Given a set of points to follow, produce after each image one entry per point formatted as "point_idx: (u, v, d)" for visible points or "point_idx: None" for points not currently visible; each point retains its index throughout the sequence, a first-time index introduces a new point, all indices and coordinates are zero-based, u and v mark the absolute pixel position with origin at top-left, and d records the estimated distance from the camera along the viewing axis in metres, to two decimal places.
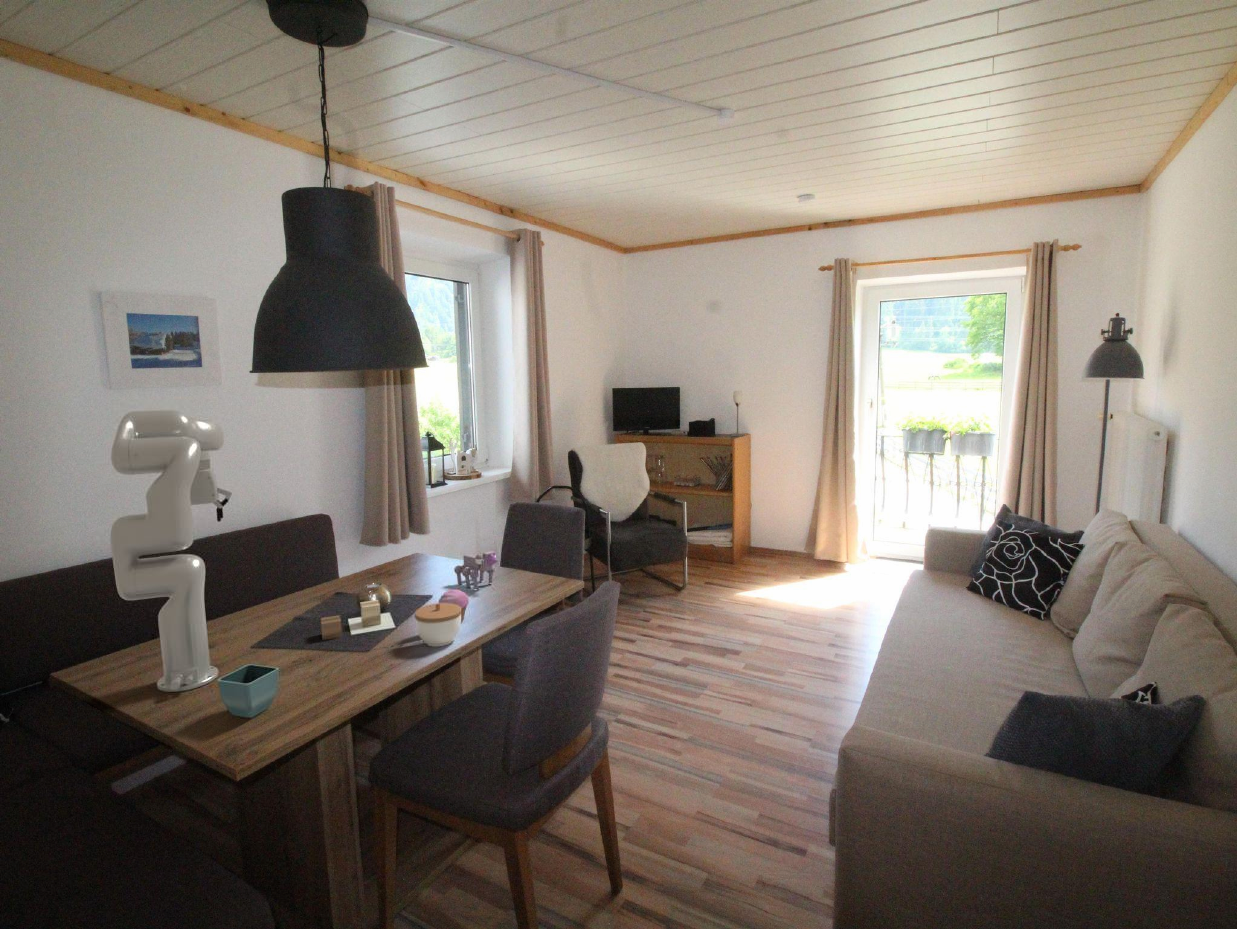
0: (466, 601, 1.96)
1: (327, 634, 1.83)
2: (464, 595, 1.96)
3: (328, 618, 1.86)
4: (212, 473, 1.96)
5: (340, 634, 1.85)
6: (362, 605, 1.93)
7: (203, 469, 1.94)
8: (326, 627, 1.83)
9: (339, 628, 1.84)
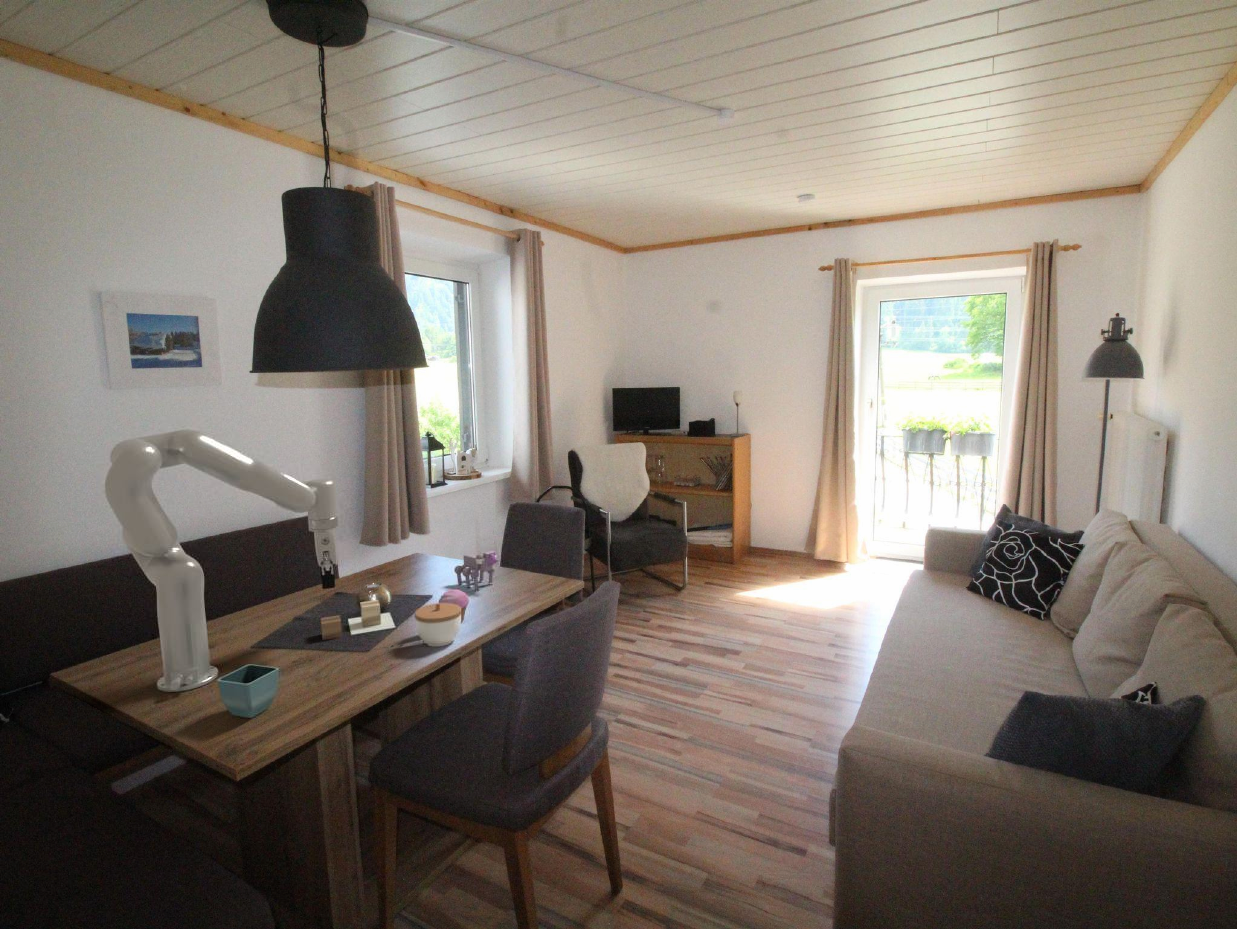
0: (466, 601, 1.96)
1: (327, 634, 1.83)
2: (464, 595, 1.96)
3: (328, 618, 1.86)
4: None
5: (340, 634, 1.85)
6: (362, 605, 1.93)
7: None
8: (325, 627, 1.83)
9: (339, 628, 1.84)
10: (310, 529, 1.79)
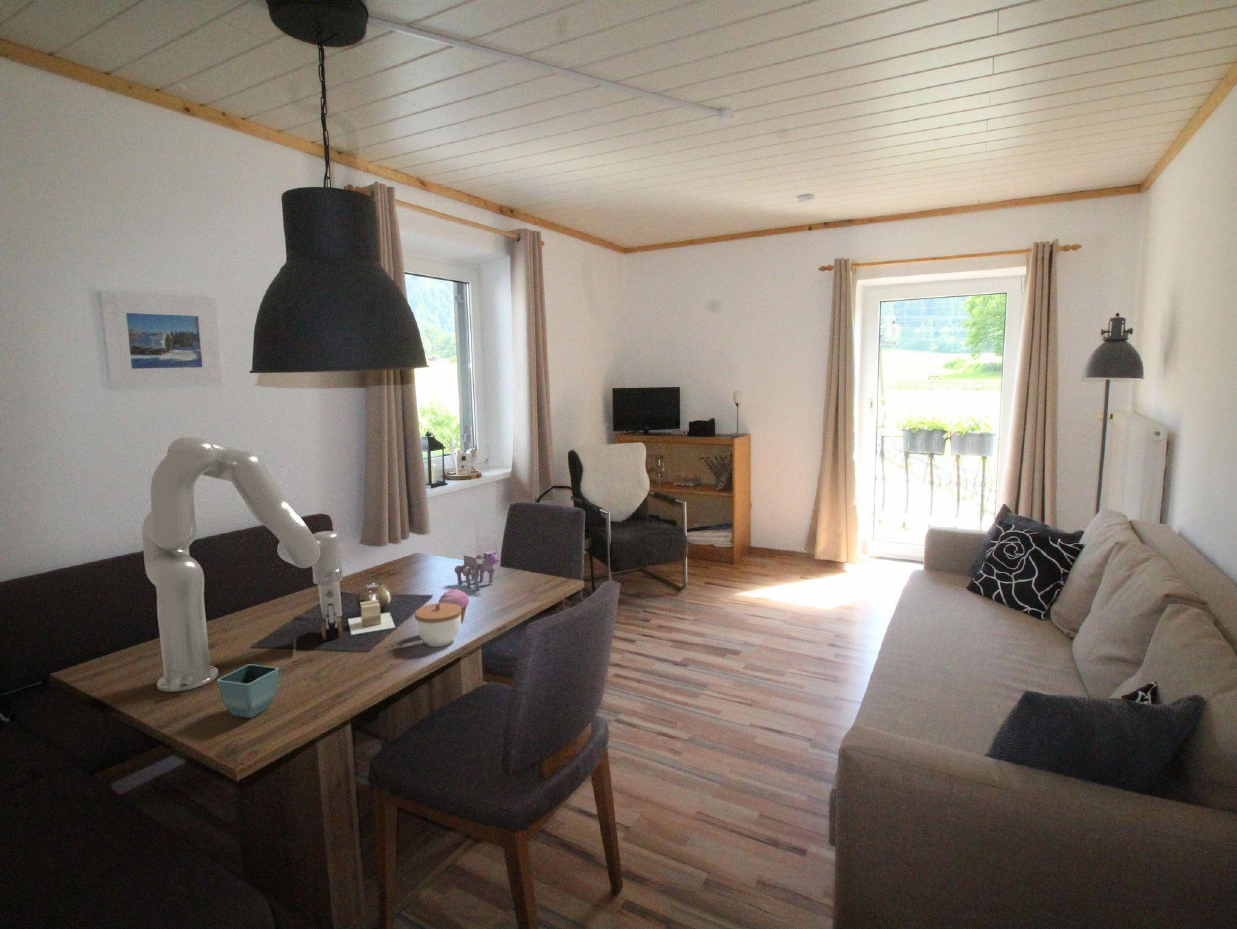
0: (466, 601, 1.96)
1: None
2: (464, 595, 1.96)
3: None
4: None
5: (340, 634, 1.85)
6: (362, 605, 1.93)
7: None
8: (326, 626, 1.83)
9: (339, 628, 1.84)
10: (315, 582, 1.81)
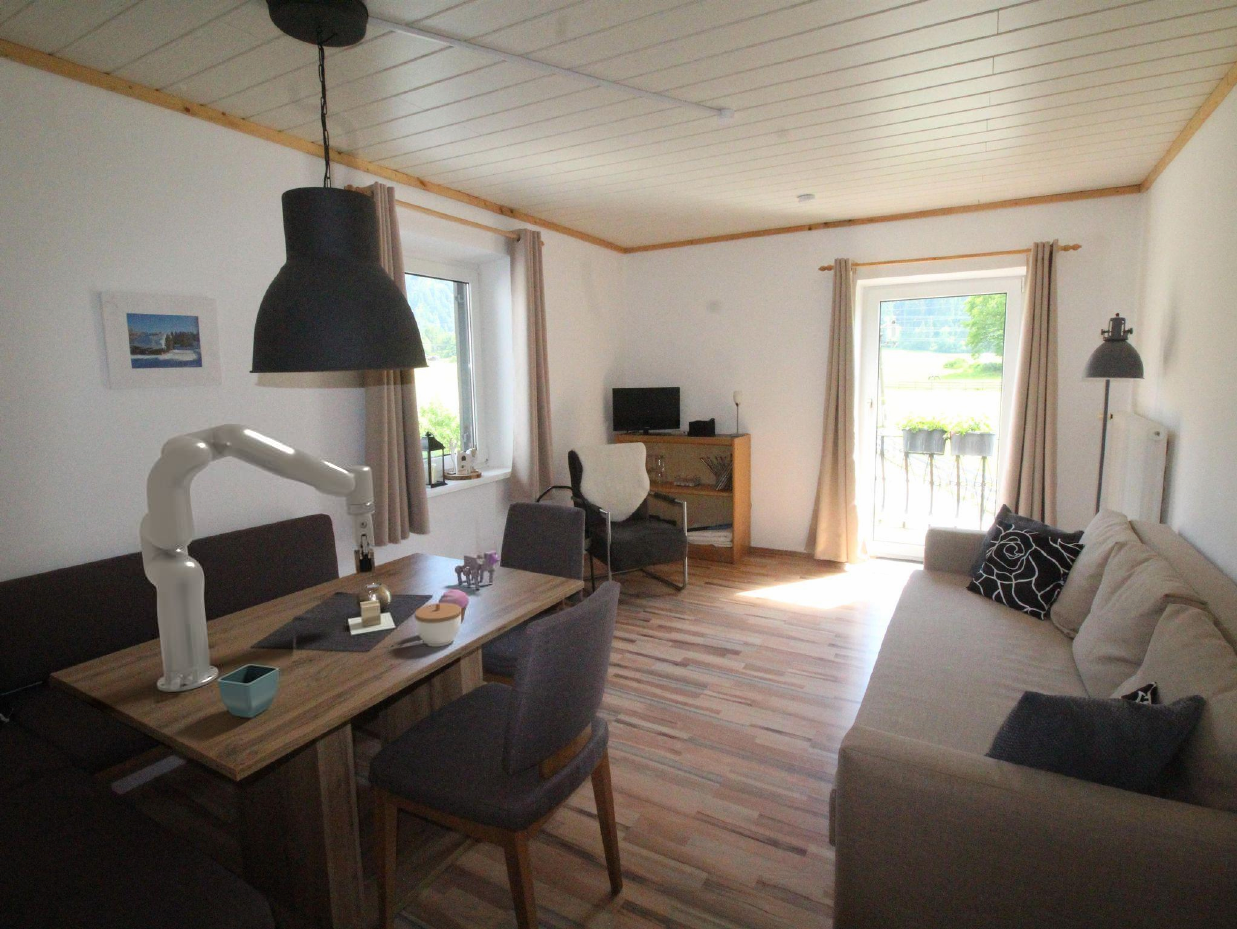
0: (466, 601, 1.96)
1: None
2: (464, 595, 1.96)
3: None
4: None
5: (373, 565, 1.91)
6: (362, 605, 1.93)
7: None
8: (359, 557, 1.89)
9: (372, 559, 1.91)
10: (348, 513, 1.87)
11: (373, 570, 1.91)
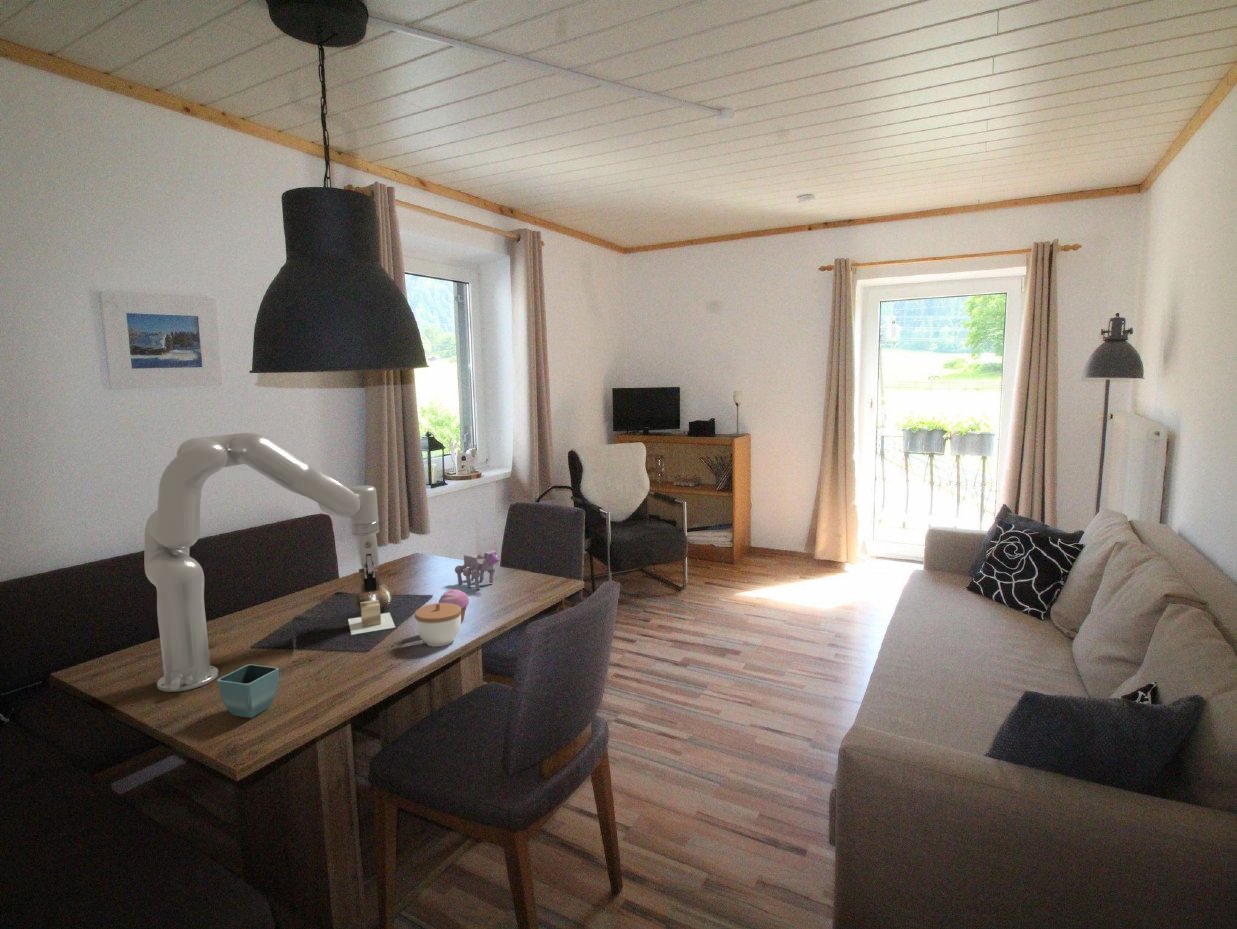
0: (466, 601, 1.96)
1: None
2: (464, 595, 1.96)
3: None
4: None
5: (378, 584, 1.92)
6: (362, 605, 1.93)
7: None
8: (364, 576, 1.91)
9: (377, 578, 1.92)
10: (353, 533, 1.89)
11: (377, 589, 1.93)
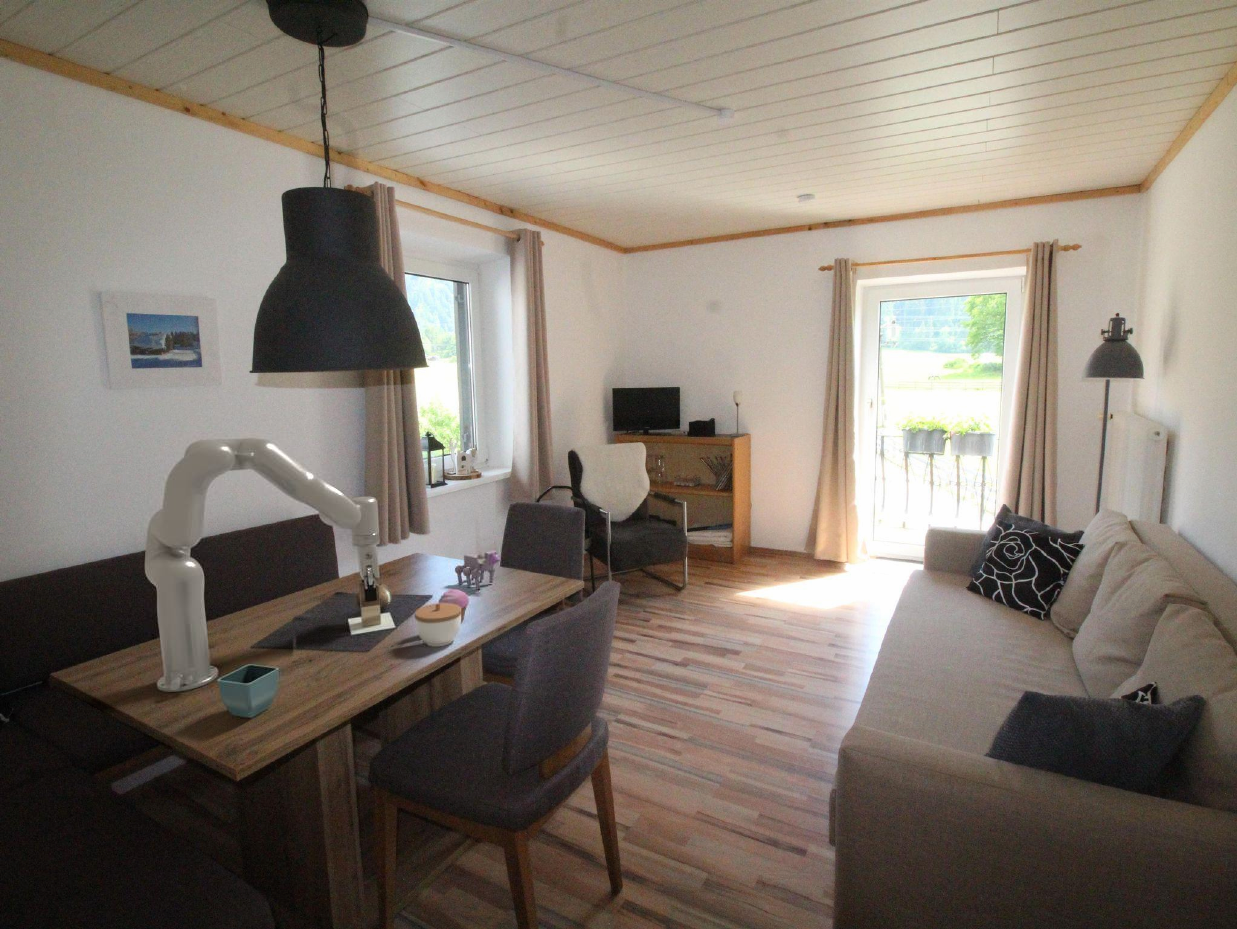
0: (466, 601, 1.96)
1: None
2: (464, 595, 1.96)
3: None
4: None
5: (378, 598, 1.93)
6: None
7: None
8: None
9: (377, 592, 1.93)
10: (354, 544, 1.89)
11: (377, 603, 1.93)
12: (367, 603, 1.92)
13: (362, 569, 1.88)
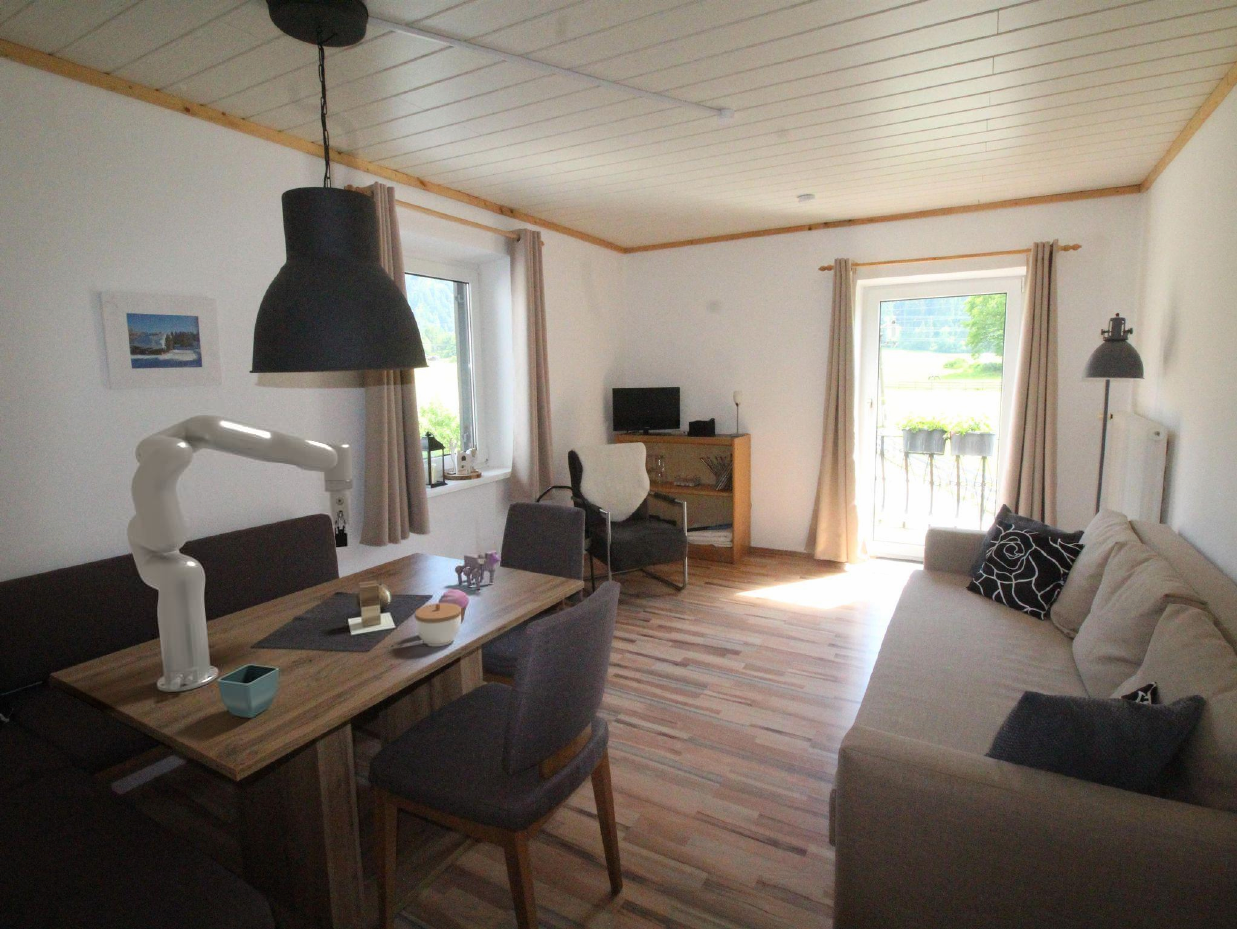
0: (466, 601, 1.96)
1: (365, 598, 1.91)
2: (464, 595, 1.96)
3: (366, 583, 1.95)
4: None
5: (378, 598, 1.93)
6: None
7: None
8: (364, 590, 1.91)
9: (377, 592, 1.93)
10: (326, 490, 1.88)
11: (377, 603, 1.93)
12: (367, 603, 1.92)
13: (333, 514, 1.86)
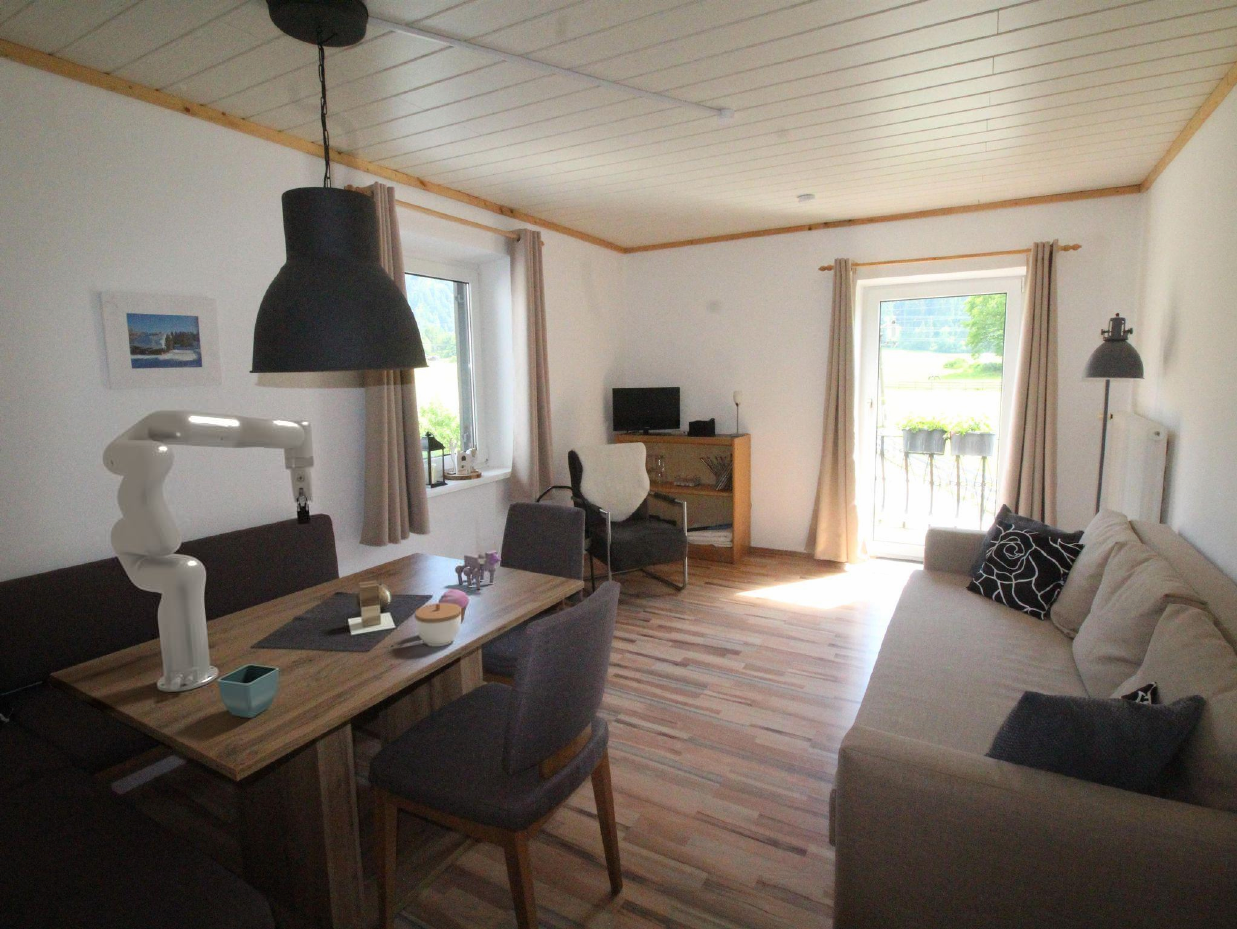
0: (466, 601, 1.96)
1: (365, 598, 1.91)
2: (464, 595, 1.96)
3: (366, 583, 1.95)
4: None
5: (378, 598, 1.93)
6: None
7: None
8: (364, 590, 1.91)
9: (377, 592, 1.93)
10: (286, 467, 1.88)
11: (377, 603, 1.93)
12: (367, 603, 1.92)
13: (294, 492, 1.86)
